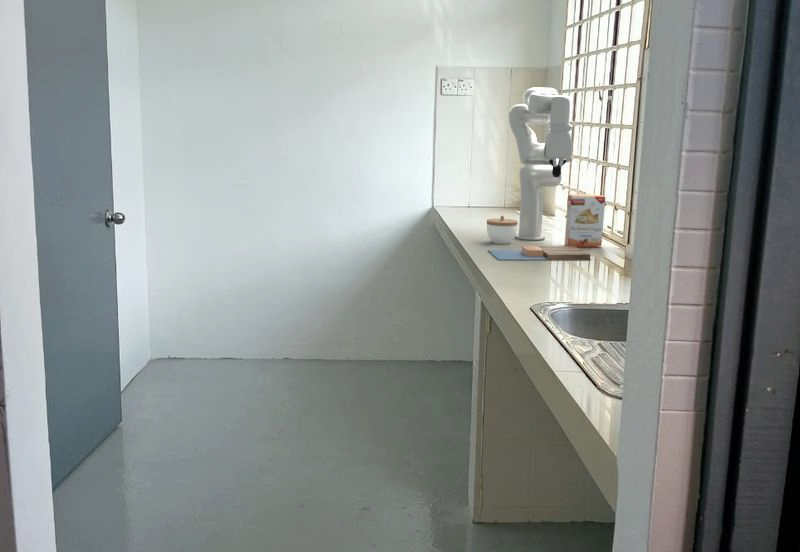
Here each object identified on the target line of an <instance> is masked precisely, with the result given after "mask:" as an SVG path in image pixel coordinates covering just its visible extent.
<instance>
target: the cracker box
mask: <svg viewBox="0 0 800 552" xmlns="http://www.w3.org/2000/svg"><path fill="white" fill-rule="evenodd" d="M566 206H567V207H566V222H565V237H564V246H576V247H578V248H598V247H597V246H601V247H602V243H603V231H604V220H605V217H604V216H605V210H606V209H605V207H606V196H605V195H601V194H598V195H597V194H568V195H567V205H566Z"/></svg>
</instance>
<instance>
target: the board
mask: <svg viewBox="0 0 800 552" xmlns="http://www.w3.org/2000/svg"><path fill="white" fill-rule="evenodd" d="M537 246H538V245H537ZM538 247H539V248H541V249H542V250H543V256H544V257H545V258H547V259H548V260H547V261H591V253H588V251H587V252H586V251H585V250H583V249H581V247H576V246H566V245H564V246H563V245H561V246H559V245H558V246H555V245H550V246H547V245H546V246H545V245H544V246H543V245H541V246H540V245H539V246H538Z"/></svg>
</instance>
